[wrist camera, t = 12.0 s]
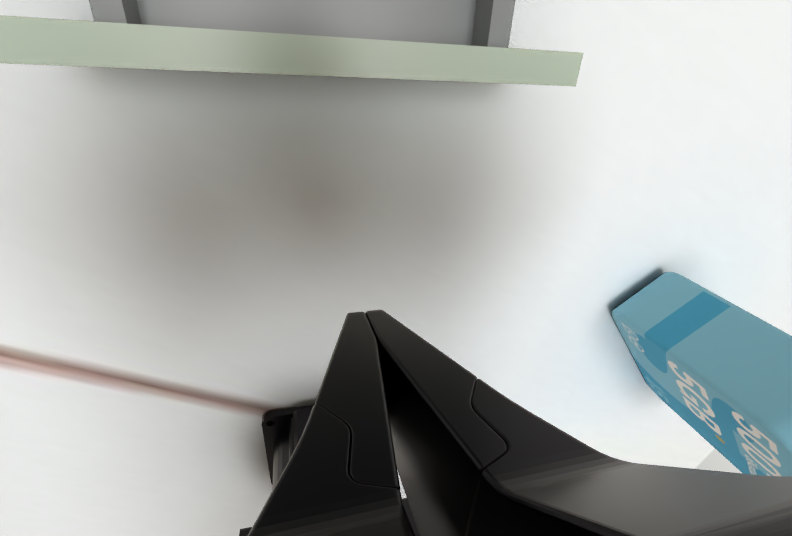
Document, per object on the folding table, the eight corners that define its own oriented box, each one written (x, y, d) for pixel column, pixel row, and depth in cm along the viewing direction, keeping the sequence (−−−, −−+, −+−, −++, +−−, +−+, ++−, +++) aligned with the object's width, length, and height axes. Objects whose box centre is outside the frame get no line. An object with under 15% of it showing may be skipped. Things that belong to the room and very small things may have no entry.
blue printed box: (603, 303, 27) (803, 457, 16) (660, 262, 26) (903, 394, 16) (648, 388, 33) (813, 538, 23) (694, 356, 32) (885, 495, 22)
